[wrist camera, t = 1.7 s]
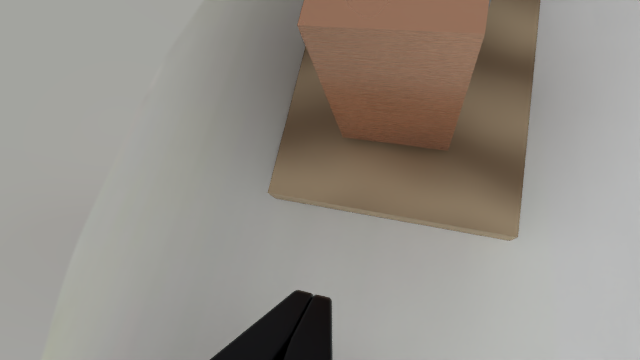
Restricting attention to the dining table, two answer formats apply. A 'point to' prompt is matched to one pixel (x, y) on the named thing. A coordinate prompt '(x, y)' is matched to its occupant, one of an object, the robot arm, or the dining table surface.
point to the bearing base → (425, 163)
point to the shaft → (395, 64)
